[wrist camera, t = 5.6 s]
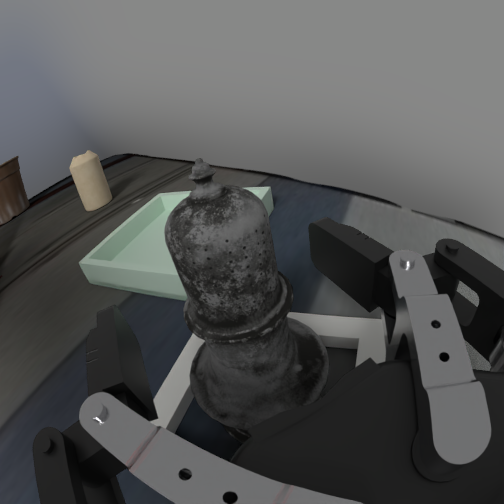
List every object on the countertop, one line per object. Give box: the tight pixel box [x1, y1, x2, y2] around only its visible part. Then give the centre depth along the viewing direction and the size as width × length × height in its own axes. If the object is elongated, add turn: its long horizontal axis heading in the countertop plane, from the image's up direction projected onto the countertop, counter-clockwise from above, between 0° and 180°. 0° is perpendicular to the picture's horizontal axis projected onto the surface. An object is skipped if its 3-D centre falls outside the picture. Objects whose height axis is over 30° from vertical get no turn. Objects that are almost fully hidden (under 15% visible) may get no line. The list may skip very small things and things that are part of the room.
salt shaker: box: [164, 158, 329, 443], centre depth 10 cm, size 6×6×12 cm
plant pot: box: [0, 156, 29, 225], centre depth 61 cm, size 16×16×16 cm
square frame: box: [150, 312, 386, 434], centre depth 13 cm, size 11×11×1 cm
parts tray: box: [79, 187, 274, 301], centre depth 28 cm, size 15×15×2 cm
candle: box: [70, 150, 112, 211], centre depth 44 cm, size 6×6×10 cm
